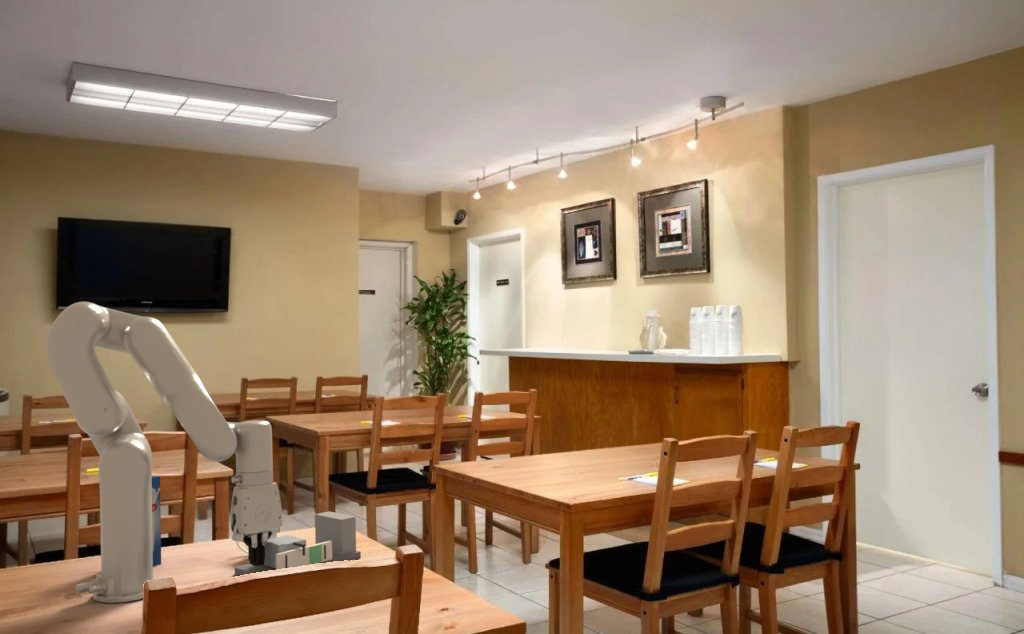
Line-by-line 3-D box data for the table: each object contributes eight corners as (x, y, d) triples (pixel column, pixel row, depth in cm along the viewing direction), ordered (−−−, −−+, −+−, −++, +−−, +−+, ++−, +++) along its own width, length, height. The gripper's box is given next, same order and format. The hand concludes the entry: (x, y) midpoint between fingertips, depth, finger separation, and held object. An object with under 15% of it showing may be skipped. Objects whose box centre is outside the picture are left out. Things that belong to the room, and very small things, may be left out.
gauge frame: (266, 584, 175) (265, 538, 175) (234, 574, 183) (233, 530, 183) (361, 558, 194) (360, 516, 194) (328, 550, 202) (328, 510, 202)
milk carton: (120, 574, 184) (119, 483, 185) (104, 570, 188) (103, 481, 188) (161, 563, 193) (160, 476, 193) (145, 560, 196) (144, 474, 196)
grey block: (286, 571, 178) (285, 546, 178) (255, 562, 185) (255, 538, 185) (316, 563, 183) (315, 539, 183) (285, 555, 191) (285, 532, 191)
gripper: (232, 485, 172) (234, 575, 172) (294, 475, 183) (296, 559, 183) (213, 482, 177) (215, 569, 177) (275, 472, 188) (277, 554, 188)
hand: (256, 564), depth 180 cm, fingers closed
